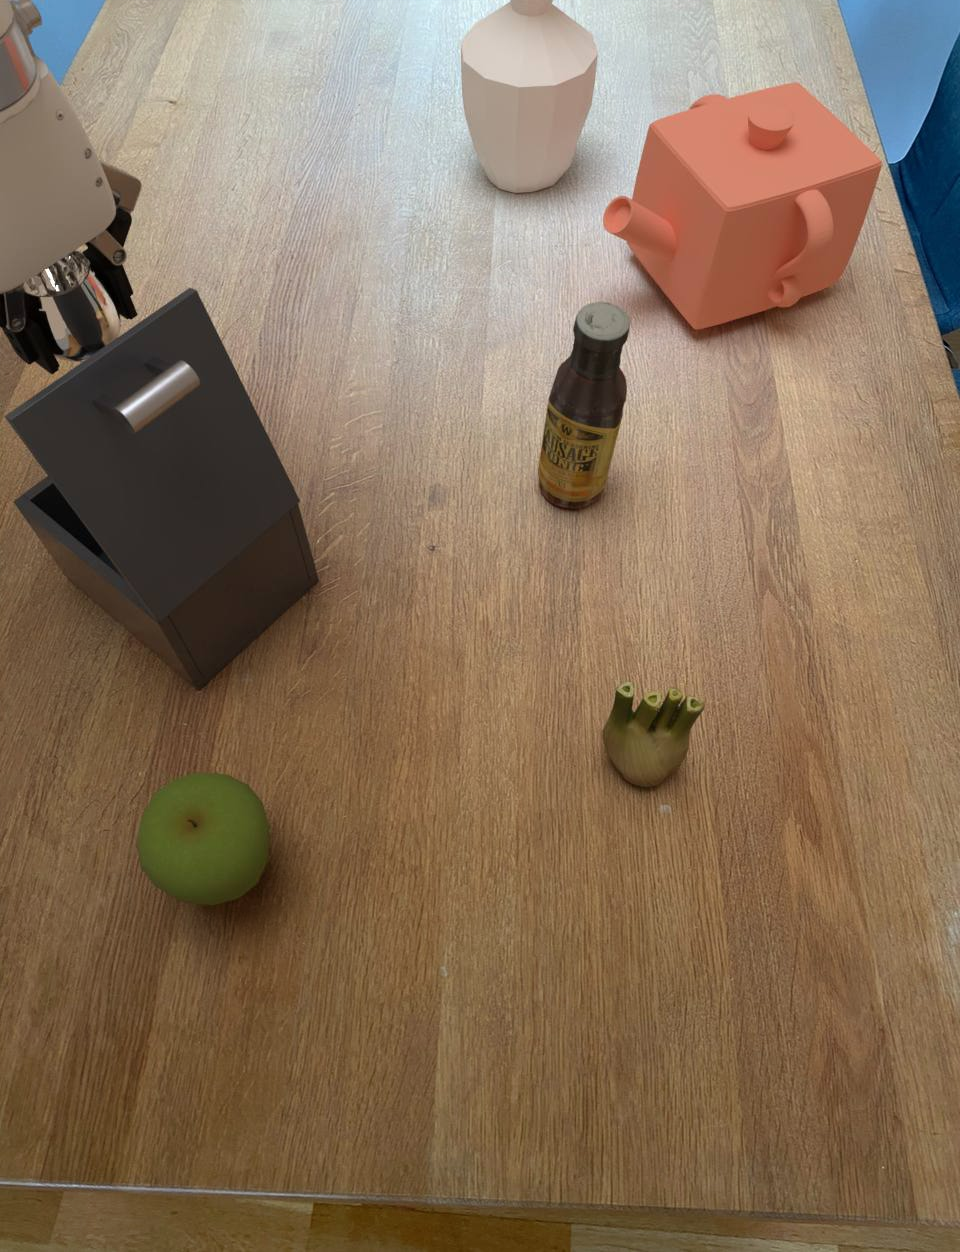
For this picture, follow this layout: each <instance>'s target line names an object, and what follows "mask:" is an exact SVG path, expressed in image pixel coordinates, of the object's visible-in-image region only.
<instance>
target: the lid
mask: <svg viewBox="0 0 960 1252" xmlns="http://www.w3.org/2000/svg"><path fill="white" fill-rule="evenodd" d="M207 310H208V309H207V308H206V307H205V304H204V303H203V300H202V299H201V296H200V294H199V292H198V290H197V289H196V288H192V287H188V288H187V289H185V290H184V291H182V292H181V293H179V294H178V295H177V296H175V297H174V298H172V299H171V300H170V301H168V302H166V303H165V304H164V305H162V306H161V307H160V308H158V309H157V310H155V311H154V312H153V313H151V314H149V315H148V316H147V317H145V318H143V320H141V321H139V322H138V323H137V324H135V325H134V326H132V327H130V328H129V329H128V330H127V331H125V332H123V333H122V334H120V335H119V336H118V338H116V339H115V340H114V341H112V342H111V343H109V344H108V345H106V346H105V347H103V348H102V349H101V350H99V351H98V352H96V353H95V354H93V355H92V356H91V357H89V358H88V359H86V360H85V361H83V362H79V364H78V365H76V366H75V367H73V368H72V369H70V370H69V371H67V372H66V373H64V374H63V375H62V376H61V377H58V378H57V379H55V381H53V382H51V383H50V384H49V385H47V386H46V387H44V388H43V389H42V390H40V391H38V392H37V393H36V394H34V395H33V396H31V397H30V398H29V399H27V400H26V401H24V402H23V403H21V404H20V405H18V406H17V407H15V409H13V410H12V411H10V412H8V413H7V414H5V416H4V418H5V420H6V421H7V422H8V424H9V426H10V427H11V428H12V429H13V431H14V432H15V433H16V435H17V436H18V437H19V439H20V441H22V443H23V444H24V445H25V447H26V448H27V449H28V451H29V453H31V455H32V456H33V458H34V459H35V461H37V463H38V464H39V466H40V467H41V469H42V470H43V471H44V472H45V474H46V475H47V476H49V478H50V479H51V480H52V482H53V483H54V485H55V486H56V487H57V489H58V490H59V491H60V493H61V494H62V495H63V497H64V498H65V499H66V501H67V502H68V503H69V505H70V506H71V507H72V509H73V510H74V512H75V513H76V514H77V516H78V517H79V518H80V520H81V521H82V522H83V524H84V525H85V526H86V528H87V529H88V530H89V532H90V533H91V534H92V536H93V537H94V539H95V540H96V541H97V543H98V544H99V545H100V547H101V548H102V549H103V551H104V552H105V553H106V555H107V556H108V557H109V559H110V560H111V561H112V563H113V564H114V566H115V567H116V568H117V570H118V571H119V572H120V574H121V575H122V576H123V578H124V579H125V580H126V582H127V583H128V584H129V586H130V587H131V588H132V590H133V591H134V593H135V594H136V595H137V597H138V598H139V599H140V601H141V602H142V603H143V605H144V606H145V607H146V609H147V610H148V611H149V613H150V614H151V615H152V617H153V618H154V619H155V620H157V621H158V622H160V621H162V620H163V619H164V618H165V617H166V616H167V615H169V614H170V613H171V612H172V611H173V610H174V609H176V608H177V607H178V606H179V605H180V604H181V603H183V602H184V601H185V600H186V599H187V598H188V597H189V596H191V595H192V594H193V593H194V592H195V591H196V590H198V589H199V588H200V587H201V586H202V585H203V584H205V583H206V582H207V581H208V580H209V579H210V578H212V577H213V576H214V575H215V574H216V573H217V572H219V571H220V570H221V569H222V568H223V567H224V566H225V565H227V564H228V563H229V562H230V561H231V560H232V559H234V558H235V557H236V556H237V555H238V554H239V553H241V552H242V551H243V550H244V549H245V548H246V547H248V546H249V545H250V544H251V543H252V542H253V541H255V540H256V539H257V538H258V537H259V536H260V535H261V534H263V533H264V532H265V531H266V530H267V529H268V528H270V527H271V526H272V525H273V524H274V523H275V522H277V521H278V520H279V519H280V518H281V517H282V516H284V515H285V514H286V513H287V512H288V511H289V510H291V509H292V508H293V507H294V506H295V505H296V504H297V503H298V504H299V503H300V502H301V499H300V498H299V495H298V494H297V491H296V489H295V487H294V485H293V483H292V482H291V479H290V477H289V475H288V473H287V471H286V469H285V467H284V465H283V463H282V461H281V459H280V457H279V455H278V453H277V451H276V449H275V447H274V445H273V443H272V441H271V438H270V437H269V435H268V432H267V431H266V429H265V427H264V425H263V423H262V422H263V421H261V418H260V416H259V415H258V413H257V410H256V407H254V404H253V402H252V400H251V398H250V396H249V394H248V392H247V390H246V387H245V385H244V383H243V382H242V380H241V377H240V376H239V374H238V371H237V370H236V368H235V365H234V363H233V362H232V359H231V357H230V355H229V353H228V351H227V349H226V347H225V345H224V343H223V341H222V338H221V337H220V335H219V334H218V331H217V329H216V327H215V325H214V323H213V320H212V318H211V317H210V315H209V313H208V311H207Z"/></svg>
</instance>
